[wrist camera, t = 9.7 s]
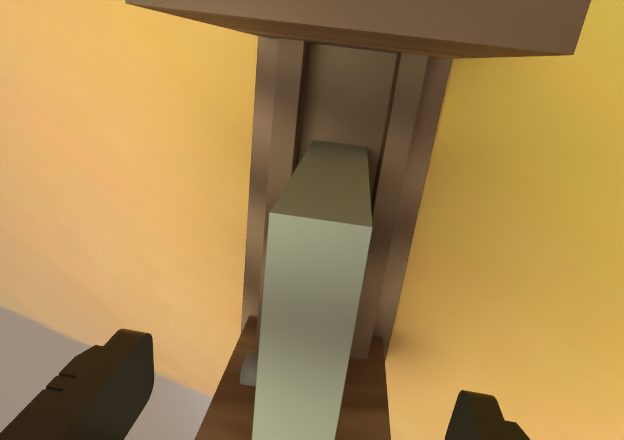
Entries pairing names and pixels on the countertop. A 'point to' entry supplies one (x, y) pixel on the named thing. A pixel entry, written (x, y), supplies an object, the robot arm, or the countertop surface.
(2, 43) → the countertop surface
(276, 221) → the door panel
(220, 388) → the brown wooden stand
